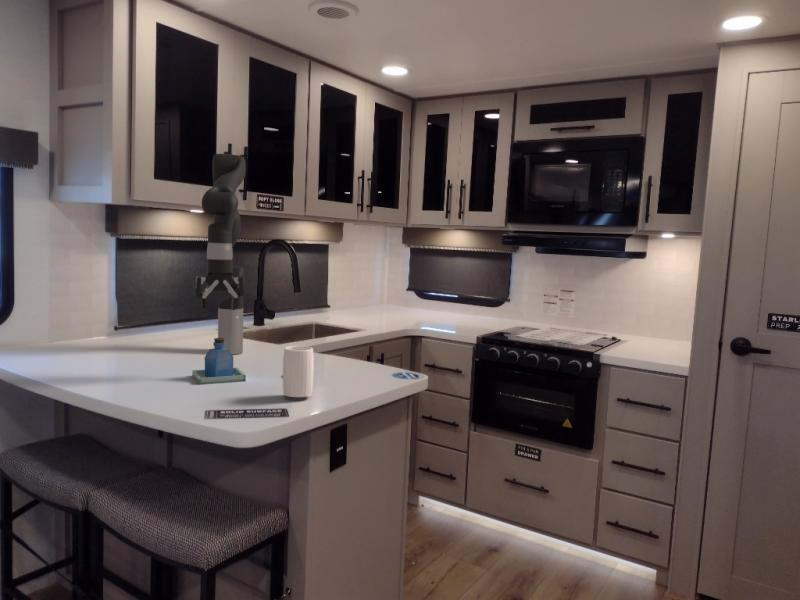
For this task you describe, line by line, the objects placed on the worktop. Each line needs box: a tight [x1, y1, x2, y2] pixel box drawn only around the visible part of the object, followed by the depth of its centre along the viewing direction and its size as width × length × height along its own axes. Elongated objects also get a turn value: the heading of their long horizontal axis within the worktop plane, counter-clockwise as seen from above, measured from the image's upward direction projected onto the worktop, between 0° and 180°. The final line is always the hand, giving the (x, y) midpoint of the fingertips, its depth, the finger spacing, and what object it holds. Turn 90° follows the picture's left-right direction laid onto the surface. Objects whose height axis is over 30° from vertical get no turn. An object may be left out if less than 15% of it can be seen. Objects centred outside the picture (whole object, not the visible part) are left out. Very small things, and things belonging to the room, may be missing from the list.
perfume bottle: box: [204, 337, 234, 377], centre depth 187 cm, size 6×6×12 cm
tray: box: [191, 367, 247, 386], centre depth 187 cm, size 12×14×2 cm
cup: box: [282, 345, 315, 398], centre depth 167 cm, size 8×8×14 cm
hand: (219, 310), depth 185 cm, fingers open, 8 cm apart
